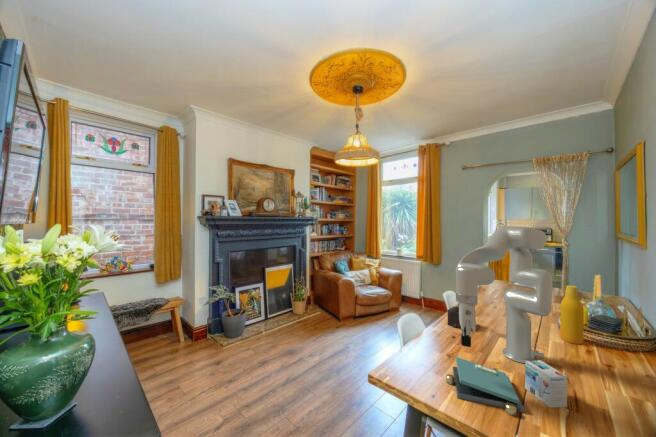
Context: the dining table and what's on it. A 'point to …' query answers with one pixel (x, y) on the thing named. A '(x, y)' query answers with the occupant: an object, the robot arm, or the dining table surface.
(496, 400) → the base
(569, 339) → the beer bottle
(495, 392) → the plate
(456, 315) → the black box
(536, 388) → the light bulb box
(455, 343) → the dining table surface
